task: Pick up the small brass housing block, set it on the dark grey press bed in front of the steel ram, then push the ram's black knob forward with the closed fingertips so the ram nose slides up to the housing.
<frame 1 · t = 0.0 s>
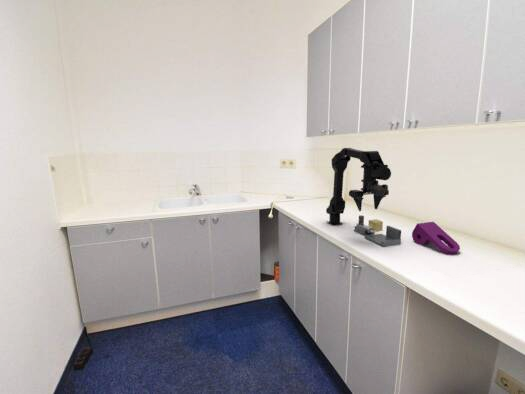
hand: (367, 210, 129), 15 cm above the worktop, tool pointing down, fingers open, 9 cm apart
ram: (366, 224, 139), point 5 cm above the worktop, slide at 0.0 cm
housing block: (375, 229, 146), on the worktop
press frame: (368, 234, 138), on the worktop
mounting bracket: (436, 248, 120), on the worktop
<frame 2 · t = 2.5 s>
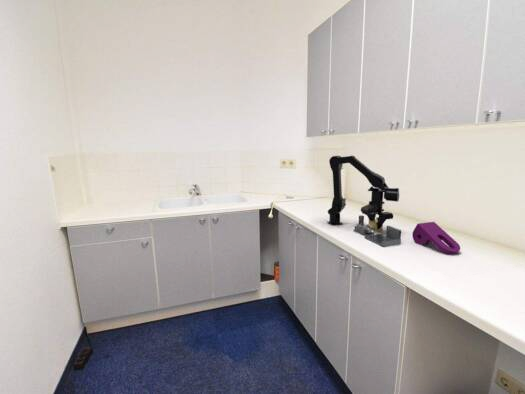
hand: (375, 227, 146), 1 cm above the worktop, tool pointing down, fingers closed on housing block, 5 cm apart
housing block: (375, 229, 146), on the worktop, touching gripper
everything else where it was.
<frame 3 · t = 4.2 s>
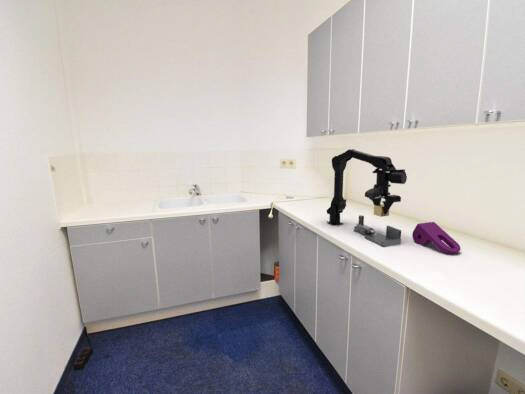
hand: (381, 213, 135), 11 cm above the worktop, tool pointing down, fingers closed on housing block, 5 cm apart
housing block: (381, 215, 136), point 10 cm above the worktop, touching gripper
everything else where it was.
when the fingers open (3 cm above the worktop, at t = 6.0 s): housing block drops 1 cm, resting on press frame.
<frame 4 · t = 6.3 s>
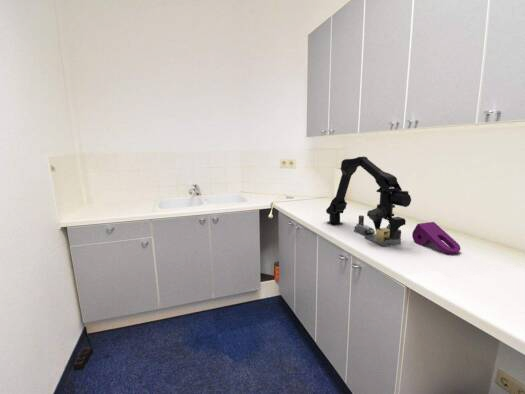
hand: (384, 234, 127), 3 cm above the worktop, tool pointing down, fingers open, 9 cm apart
housing block: (383, 239, 128), point 1 cm above the worktop, touching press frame
everything else where it was.
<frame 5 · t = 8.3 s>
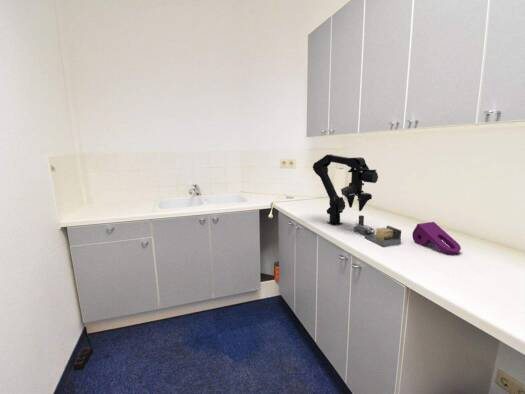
hand: (355, 209, 147), 11 cm above the worktop, tool pointing down, fingers open, 8 cm apart
nothing on the worktop moved.
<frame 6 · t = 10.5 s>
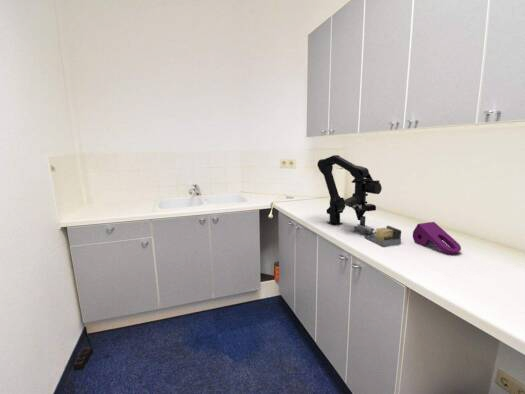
hand: (359, 220, 144), 6 cm above the worktop, tool pointing down, fingers closed
ram: (367, 225, 138), point 5 cm above the worktop, slide at 1.2 cm, touching gripper
everything else where it was.
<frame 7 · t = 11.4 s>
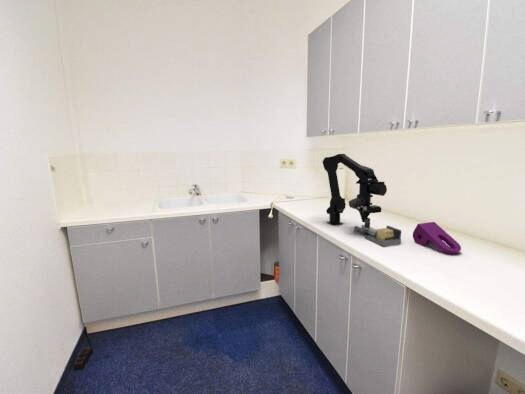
hand: (363, 222, 141), 6 cm above the worktop, tool pointing down, fingers closed
ram: (372, 227, 134), point 5 cm above the worktop, slide at 4.9 cm, touching gripper, housing block
housing block: (384, 240, 127), point 1 cm above the worktop, touching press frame, ram
everything else where it was.
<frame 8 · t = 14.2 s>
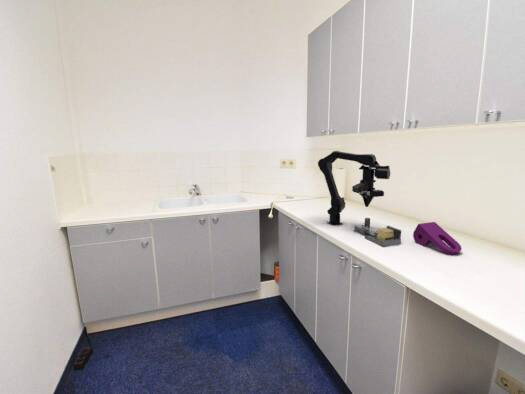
hand: (366, 206, 145), 12 cm above the worktop, tool pointing down, fingers closed
ram: (372, 227, 134), point 5 cm above the worktop, slide at 4.9 cm, touching housing block
everything else where it was.
at the end: housing block inside the target area (0.3 cm from its centre), point 1.0 cm above the worktop; housing block tilted 0°; ram slide at 4.9 cm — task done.
